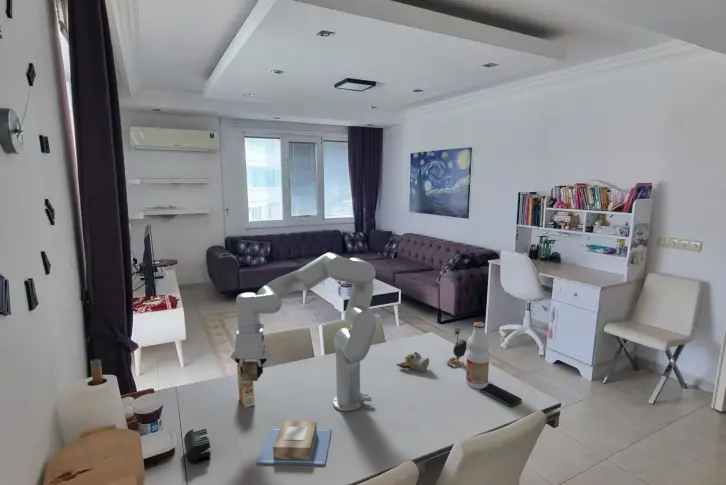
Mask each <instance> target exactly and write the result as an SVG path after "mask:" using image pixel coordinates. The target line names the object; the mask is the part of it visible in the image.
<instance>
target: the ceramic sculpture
mask: <svg viewBox="0 0 726 485" xmlns="http://www.w3.org/2000/svg"><path fill="white" fill-rule="evenodd" d="M404 359H405V361H404V362H400V363H397V364H396V365H397V366H398V367H399V368H401V369H405V370H406V369H411V370H418V371H420V372H421V373H425V372H426V371H427V369H428V367H429V365H430V358H429V357H422V356H421V355H420V353H419V352H413V353H409V354H407V356H405V357H404Z"/></svg>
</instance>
